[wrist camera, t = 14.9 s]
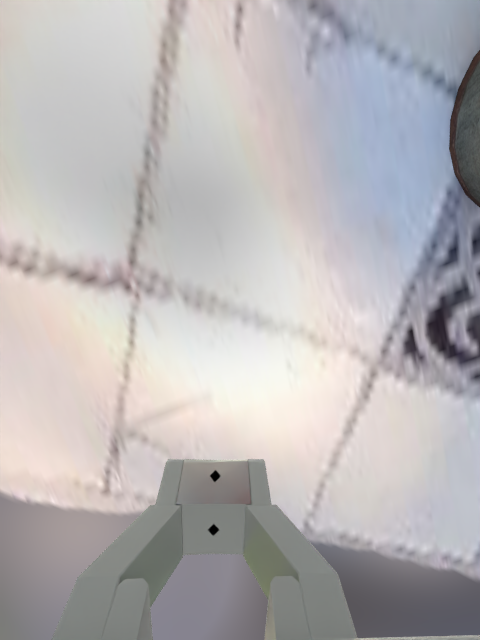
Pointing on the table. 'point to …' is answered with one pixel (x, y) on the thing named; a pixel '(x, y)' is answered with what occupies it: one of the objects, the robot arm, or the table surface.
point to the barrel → (467, 132)
